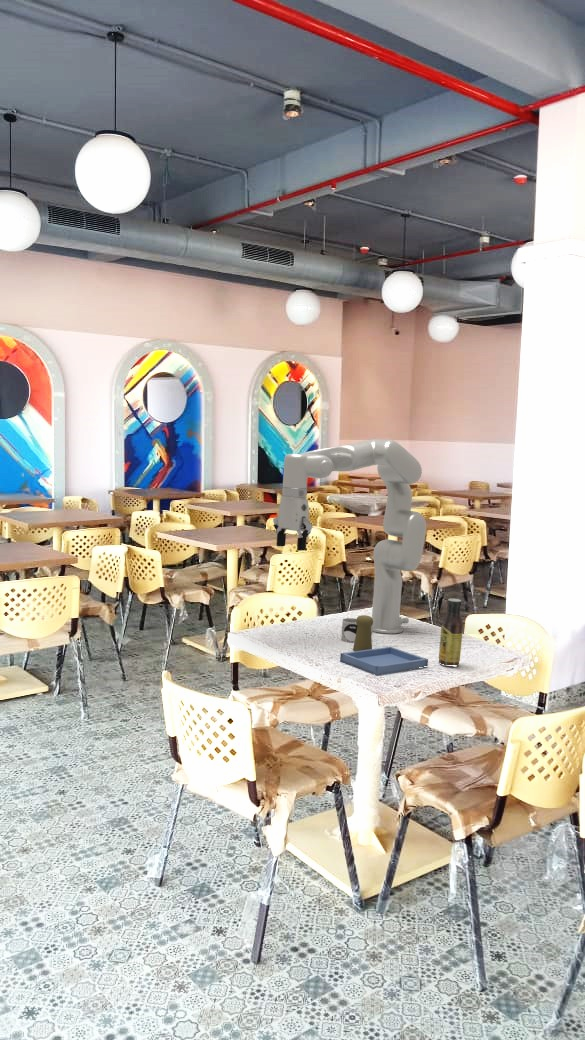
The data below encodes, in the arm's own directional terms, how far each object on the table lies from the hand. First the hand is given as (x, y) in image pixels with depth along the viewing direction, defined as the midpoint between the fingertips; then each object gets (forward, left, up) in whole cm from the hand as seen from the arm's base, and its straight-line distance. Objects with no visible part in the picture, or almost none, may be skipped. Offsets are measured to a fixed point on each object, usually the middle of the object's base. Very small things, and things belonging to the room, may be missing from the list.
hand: (290, 548), depth 257 cm
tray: (-12, +33, -30) cm, 46 cm away
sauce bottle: (-30, +42, -30) cm, 60 cm away
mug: (-24, +7, -30) cm, 39 cm away
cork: (-17, +18, -30) cm, 39 cm away
